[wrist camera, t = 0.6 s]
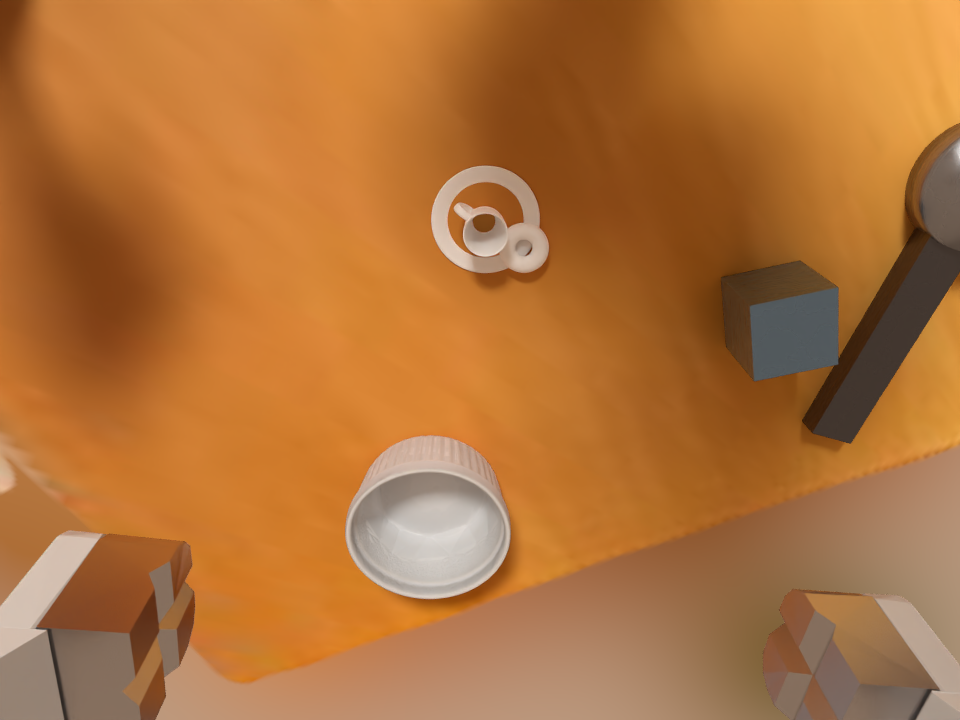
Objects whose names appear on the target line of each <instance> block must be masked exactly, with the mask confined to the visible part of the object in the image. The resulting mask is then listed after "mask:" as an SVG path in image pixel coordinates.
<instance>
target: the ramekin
mask: <svg viewBox="0 0 960 720" xmlns="http://www.w3.org/2000/svg"><path fill="white" fill-rule="evenodd" d="M345 536H346V543H347V547H348V550H349V553H350V555H351V557H352V559H353V561H354V562H355V563H356V565H357V566H358V568H359V569H360V570H361V571H362V572H363V573H364V574H365V575H366V576H367V577H368V578H369V579H371V580H372V581H373V582H375V583H376V584H378V585H379V586H381V587H383V588H384V589H387V590H389V591H391V592H394V593H396V594H399V595H403V596H407V597H412V598H419V599H440V598H447V597H452V596H456V595H459V594H463V593H465V592H468V591H470V590H472V589H474V588H476V587H478V586H479V585H481V584H482V583H484V582H485V581H486V580H488V579H489V578H490V577H491V576H492V575H493V574H494V573H495V572H496V571H497V570H498V568H499V567H500V566H501V564H502V562H503V561H504V559H505V557H506V554H507V552H508V549H509V545H510V537H511V527H510V517H509V512H508V509H507V506H506V504H505V502H504V500H503V498H502V494H501V490H500V487H499V484H498V481H497V478H496V476H495V473H494V471H493V470H492V468H491V466H490V464H489V463H488V462H487V461H486V459H485V458H484V457H483V456H482V455H481V454H480V453H479V452H477V451H476V450H475V449H473V448H472V447H470V446H468V445H467V444H465V443H463V442H460V441H458V440H455V439H452V438H449V437H442V436H432V435H430V436H419V437H412V438H410V439H406V440H403V441H401V442H399V443H396V444H394V445H393V446H391V447H389V448H388V449H387V450H386V451H384V452H383V453H381V454H380V456H379V457H378V458H377V459H376V460H375V461H374V463H373V464H372V465H371V466H370V468H369V470H368V472H367V474H366V476H365V478H364V480H363V482H362V484H361V487H360V489H359V491H358V492H357V494H356V495H355V497H354V498H353V500H352V502H351V505H350V507H349V510H348V514H347V519H346V527H345Z"/></svg>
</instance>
